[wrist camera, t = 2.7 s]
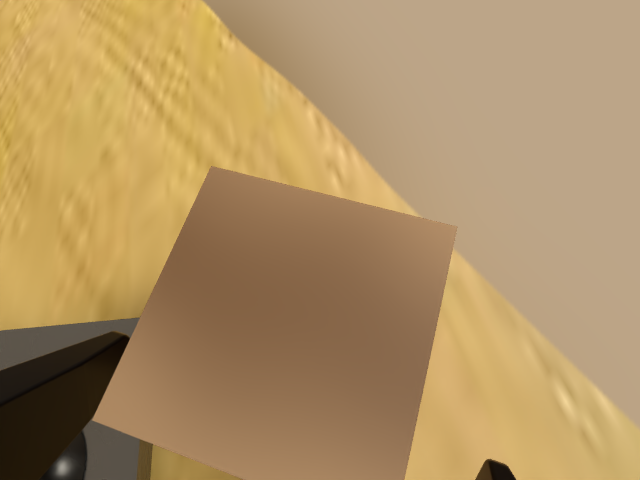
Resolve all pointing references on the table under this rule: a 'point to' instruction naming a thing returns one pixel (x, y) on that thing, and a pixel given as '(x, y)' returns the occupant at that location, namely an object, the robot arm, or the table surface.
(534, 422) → the table surface
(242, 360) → the post
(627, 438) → the table surface
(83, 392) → the robot arm
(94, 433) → the bolt plate
